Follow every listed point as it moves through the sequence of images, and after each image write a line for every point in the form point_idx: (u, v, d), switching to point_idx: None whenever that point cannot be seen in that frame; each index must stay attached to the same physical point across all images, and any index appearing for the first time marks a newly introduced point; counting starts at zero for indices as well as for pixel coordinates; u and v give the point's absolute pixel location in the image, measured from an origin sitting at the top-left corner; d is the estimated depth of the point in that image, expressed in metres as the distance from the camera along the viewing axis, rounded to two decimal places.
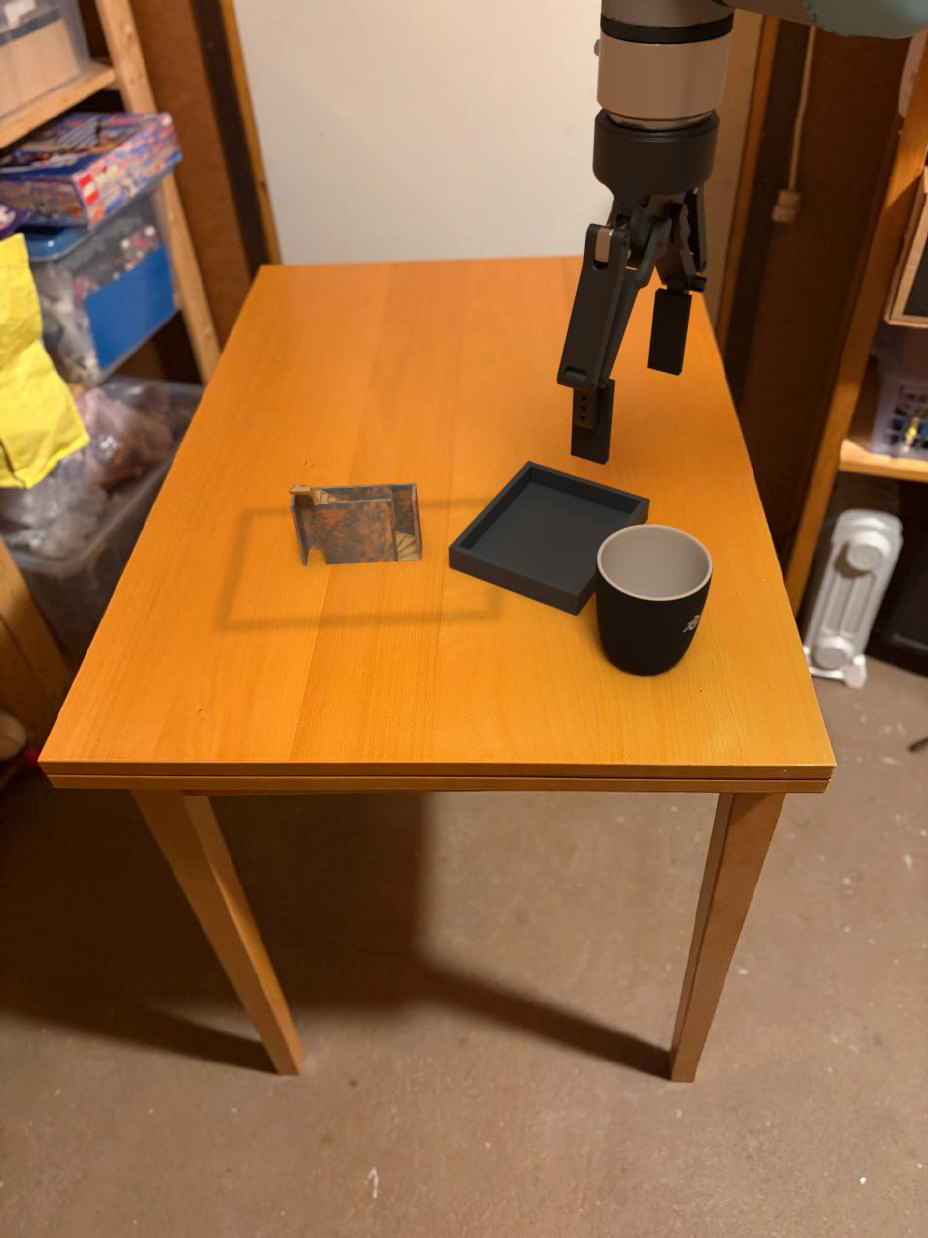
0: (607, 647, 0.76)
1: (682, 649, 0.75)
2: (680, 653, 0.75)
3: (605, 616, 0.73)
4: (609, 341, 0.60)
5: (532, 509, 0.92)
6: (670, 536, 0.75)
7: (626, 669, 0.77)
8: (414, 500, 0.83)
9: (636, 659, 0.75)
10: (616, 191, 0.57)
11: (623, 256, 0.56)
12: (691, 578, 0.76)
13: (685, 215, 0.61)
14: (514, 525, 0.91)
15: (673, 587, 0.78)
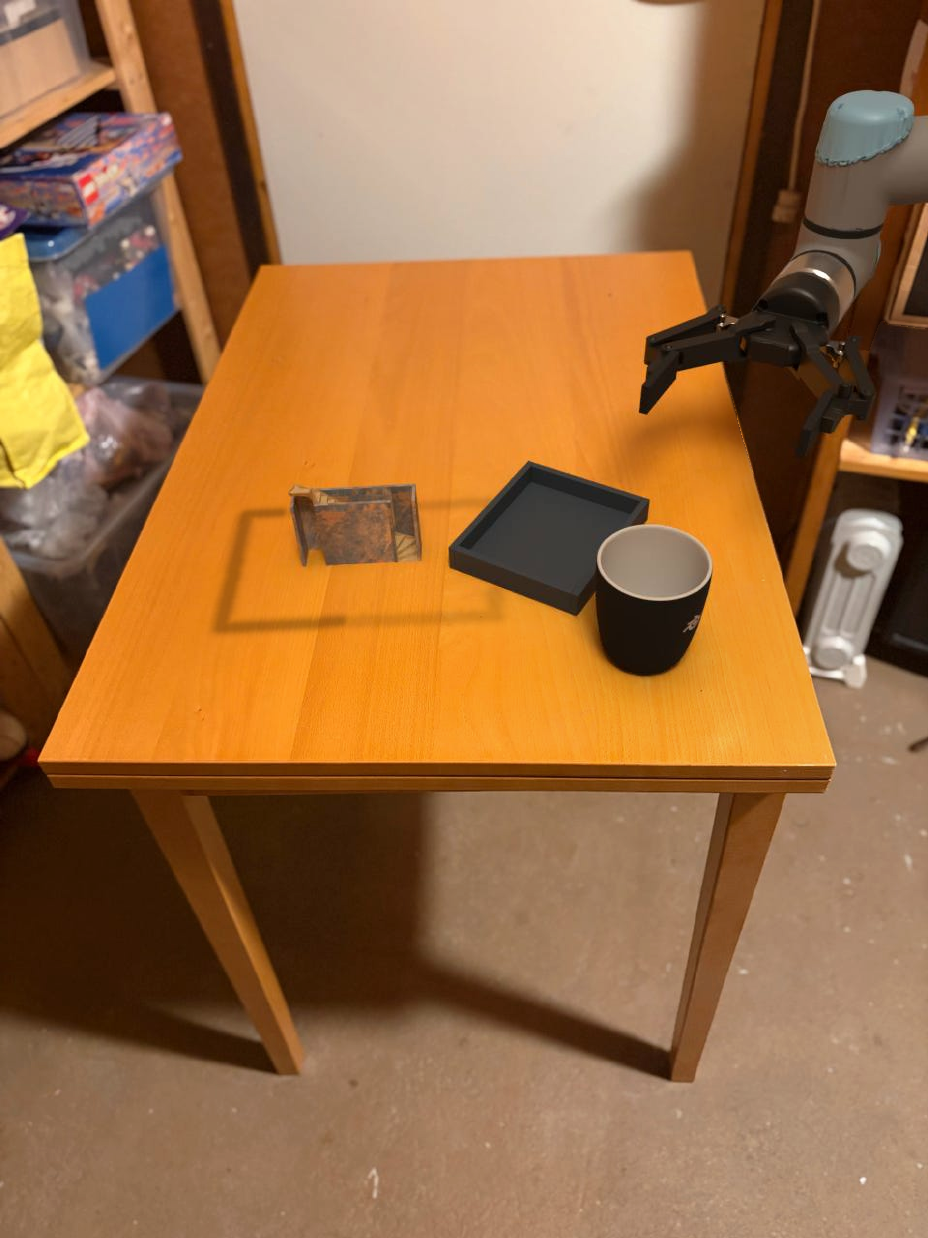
0: (607, 647, 0.76)
1: (682, 649, 0.75)
2: (680, 653, 0.75)
3: (605, 616, 0.73)
4: None
5: (532, 509, 0.92)
6: (670, 536, 0.75)
7: (626, 669, 0.77)
8: (413, 501, 0.83)
9: (636, 659, 0.75)
10: None
11: (714, 311, 0.87)
12: (691, 578, 0.76)
13: (801, 325, 0.83)
14: (514, 525, 0.91)
15: (672, 587, 0.78)
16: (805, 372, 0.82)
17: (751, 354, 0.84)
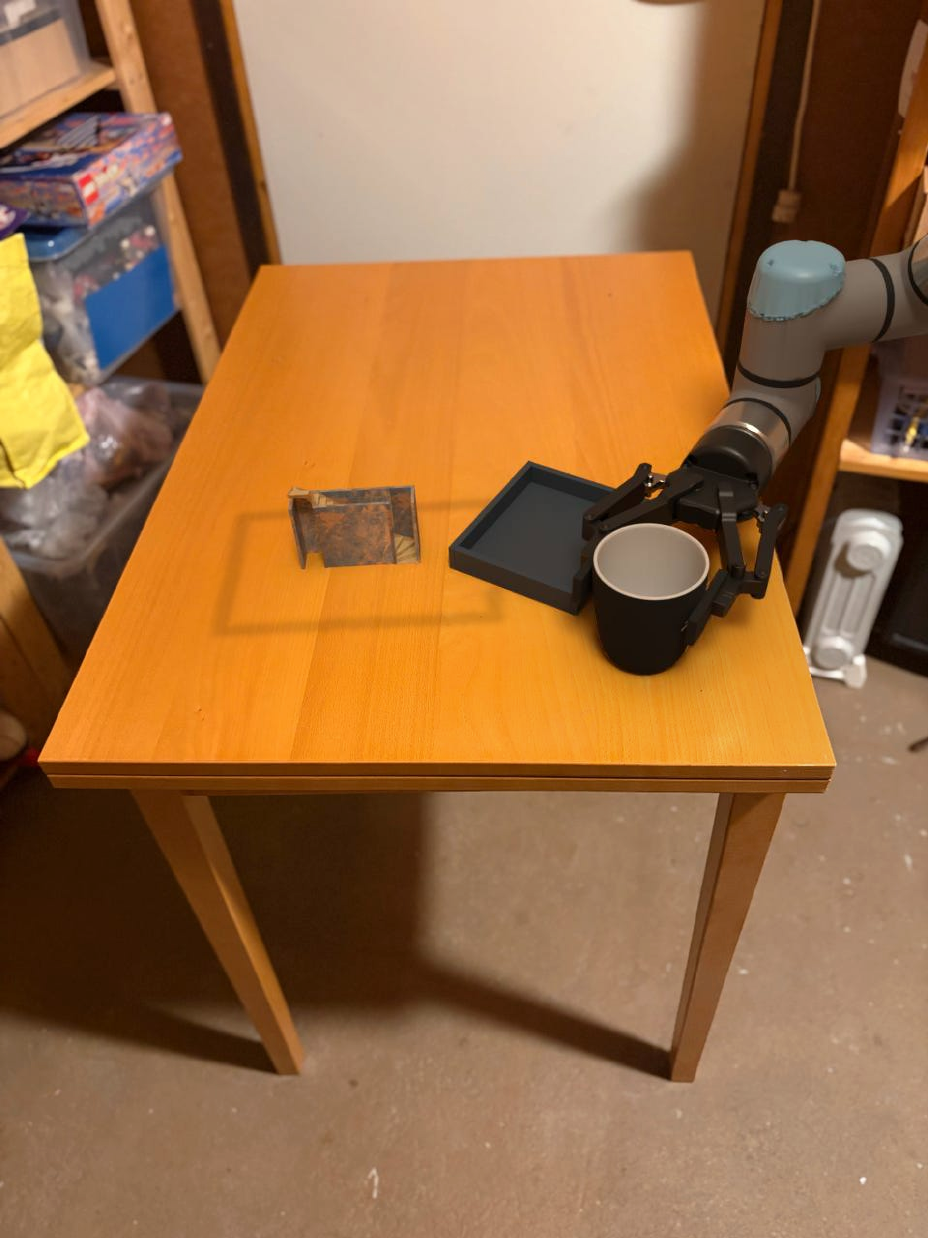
0: (606, 647, 0.76)
1: (681, 647, 0.75)
2: (679, 652, 0.75)
3: (603, 616, 0.73)
4: None
5: (532, 509, 0.92)
6: (667, 535, 0.75)
7: (626, 669, 0.77)
8: (413, 502, 0.83)
9: (635, 659, 0.75)
10: None
11: (640, 472, 0.83)
12: (689, 576, 0.76)
13: (728, 489, 0.80)
14: (514, 525, 0.91)
15: (671, 585, 0.78)
16: (719, 538, 0.79)
17: (678, 515, 0.81)
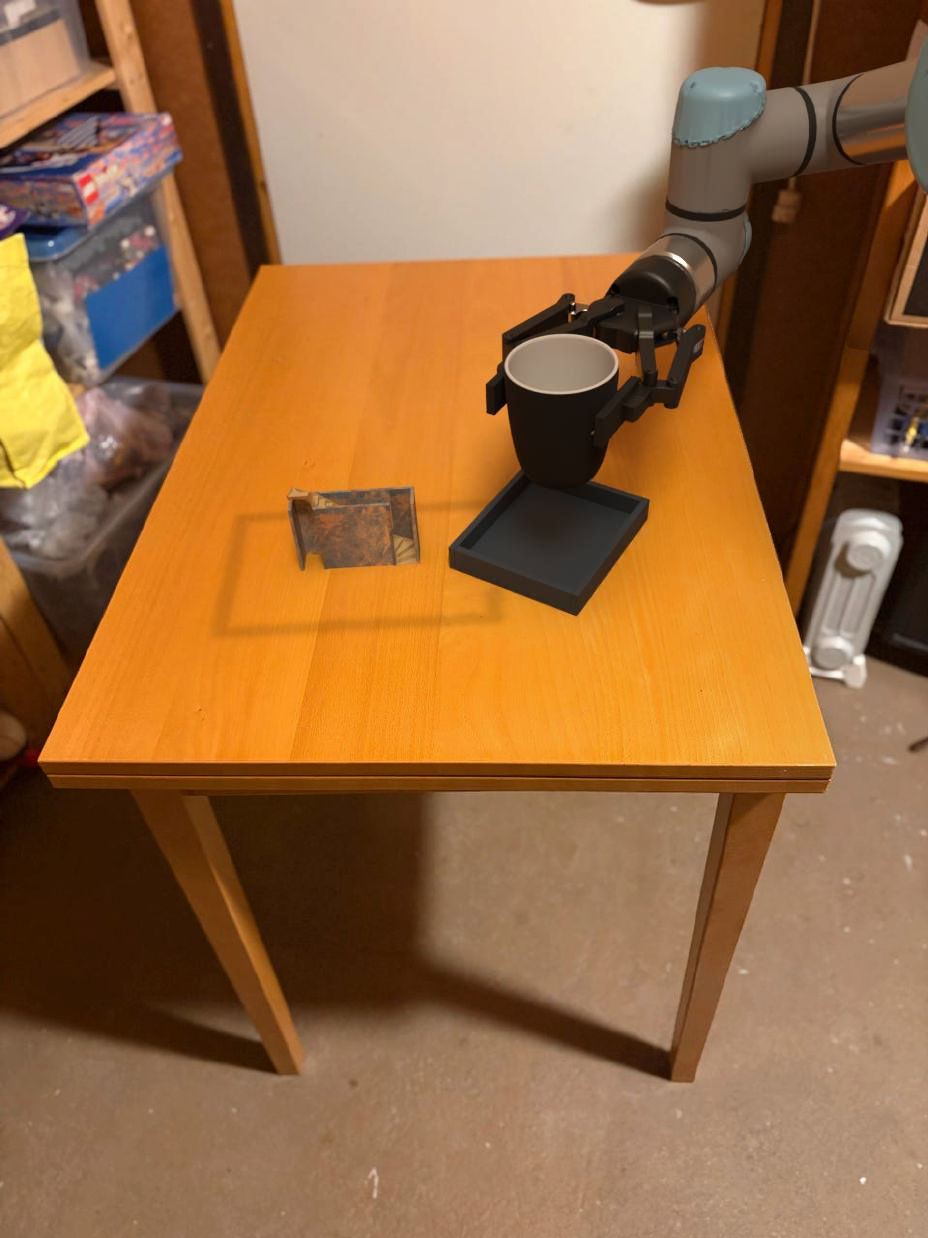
0: (521, 460, 0.77)
1: (594, 457, 0.75)
2: (592, 462, 0.75)
3: (515, 422, 0.74)
4: None
5: (532, 509, 0.92)
6: (581, 345, 0.75)
7: (541, 483, 0.77)
8: (412, 504, 0.83)
9: (548, 468, 0.75)
10: None
11: (563, 300, 0.83)
12: None
13: (647, 310, 0.80)
14: (514, 525, 0.91)
15: None
16: (637, 358, 0.79)
17: (599, 340, 0.81)
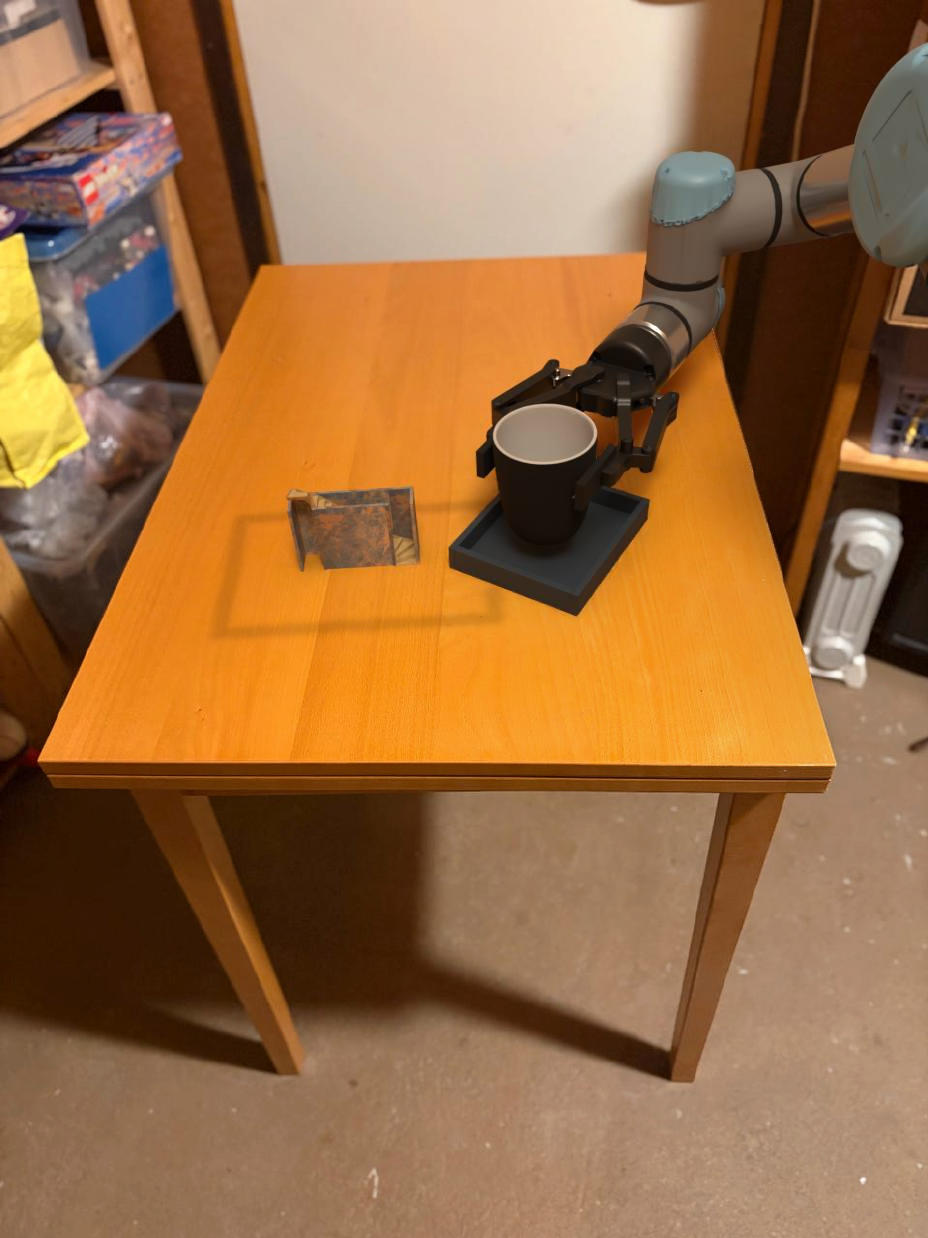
0: (509, 519, 0.83)
1: (576, 517, 0.82)
2: (574, 521, 0.82)
3: (503, 486, 0.80)
4: None
5: None
6: (563, 414, 0.82)
7: (527, 539, 0.84)
8: (412, 504, 0.83)
9: (533, 527, 0.82)
10: None
11: (549, 366, 0.90)
12: None
13: (625, 378, 0.87)
14: None
15: None
16: (616, 423, 0.86)
17: (581, 404, 0.88)
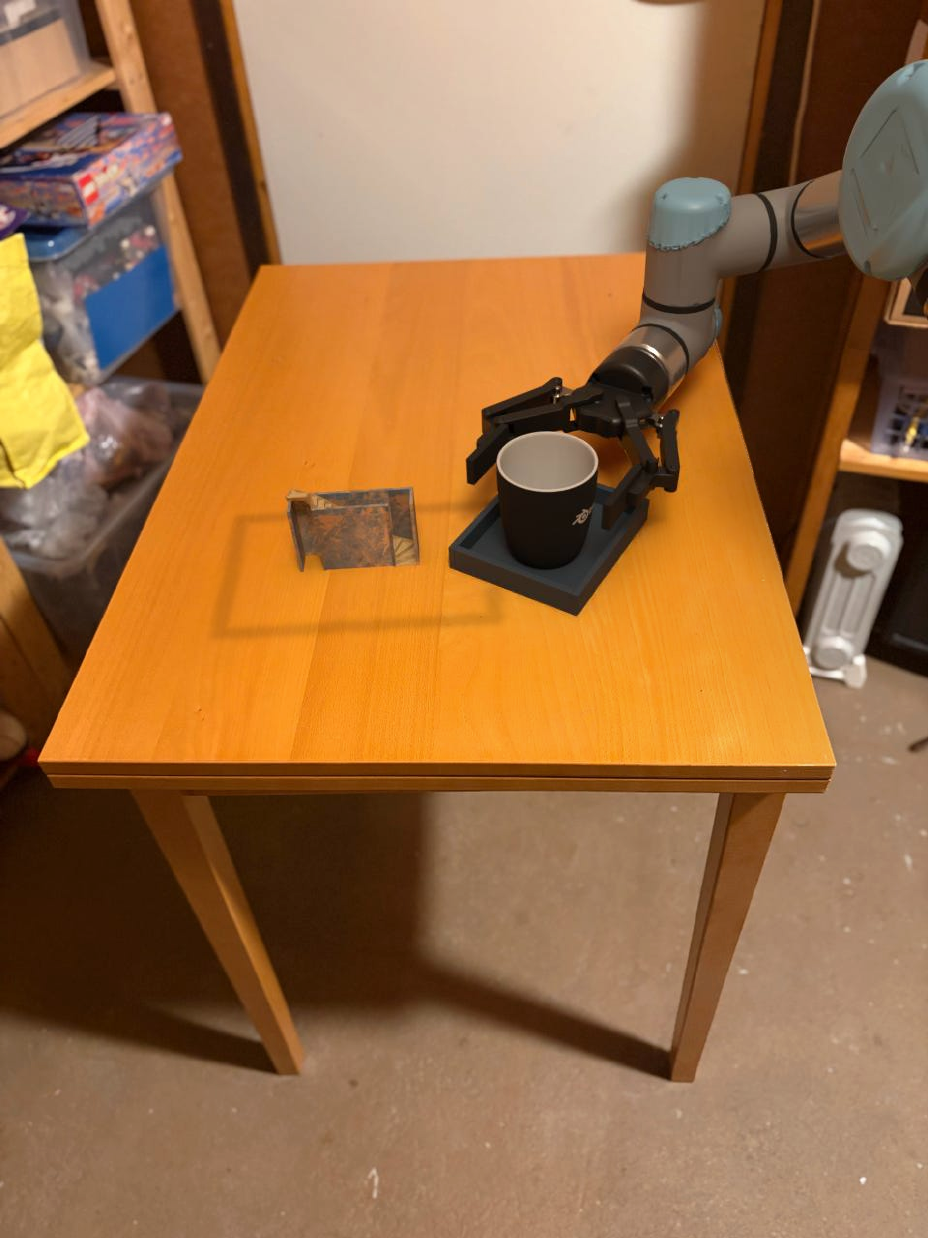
0: (510, 542, 0.85)
1: (575, 542, 0.84)
2: (574, 546, 0.84)
3: (505, 511, 0.82)
4: None
5: None
6: (565, 442, 0.84)
7: (527, 563, 0.86)
8: (411, 504, 0.83)
9: (534, 551, 0.84)
10: None
11: (550, 383, 0.92)
12: None
13: (625, 400, 0.88)
14: None
15: None
16: (626, 444, 0.87)
17: (580, 425, 0.90)
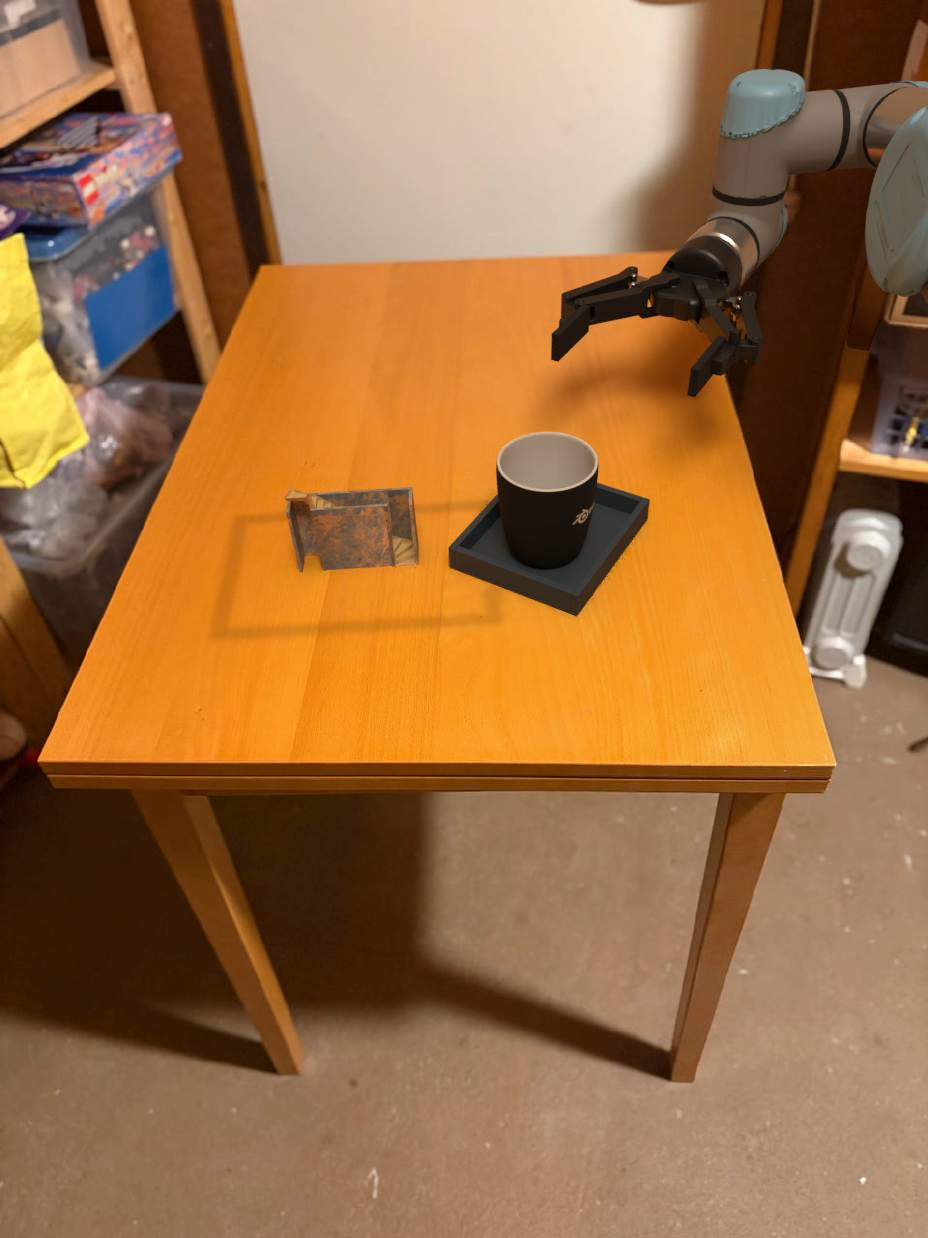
0: (510, 542, 0.85)
1: (575, 542, 0.84)
2: (574, 546, 0.84)
3: (505, 511, 0.82)
4: None
5: None
6: (565, 442, 0.84)
7: (527, 563, 0.86)
8: (411, 504, 0.83)
9: (534, 551, 0.84)
10: None
11: (626, 271, 0.94)
12: None
13: (702, 282, 0.90)
14: None
15: None
16: (704, 324, 0.89)
17: (658, 309, 0.92)
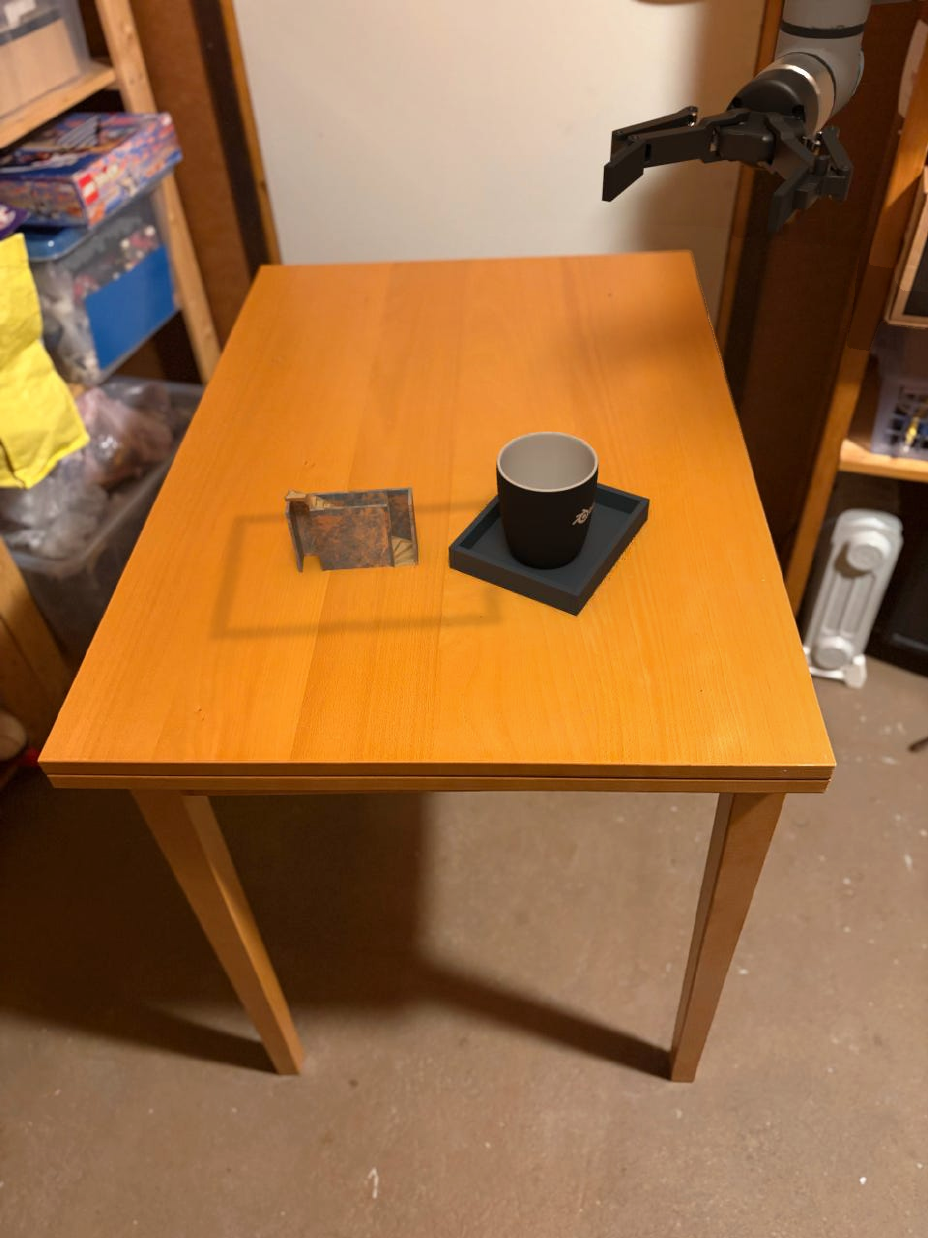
0: (510, 542, 0.85)
1: (575, 542, 0.84)
2: (574, 546, 0.84)
3: (505, 511, 0.82)
4: None
5: None
6: (565, 442, 0.84)
7: (527, 563, 0.86)
8: (410, 505, 0.83)
9: (534, 551, 0.84)
10: None
11: (685, 110, 0.82)
12: None
13: (776, 115, 0.78)
14: None
15: None
16: (779, 162, 0.77)
17: (723, 150, 0.79)
